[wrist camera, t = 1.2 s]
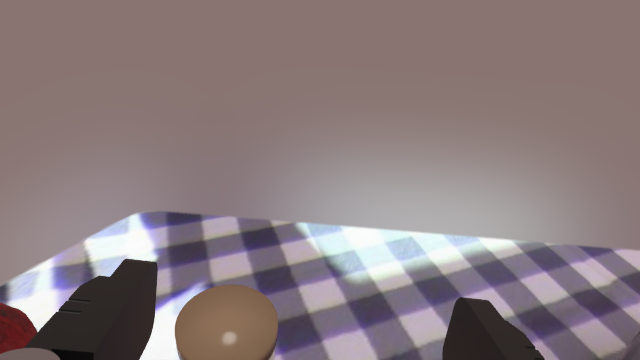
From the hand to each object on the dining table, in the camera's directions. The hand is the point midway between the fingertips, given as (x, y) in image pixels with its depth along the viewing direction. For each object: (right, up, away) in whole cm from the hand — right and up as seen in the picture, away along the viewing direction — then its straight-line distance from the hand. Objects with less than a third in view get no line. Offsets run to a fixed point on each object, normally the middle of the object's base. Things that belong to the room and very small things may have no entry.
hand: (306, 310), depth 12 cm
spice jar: (-6, -14, +18) cm, 23 cm away
